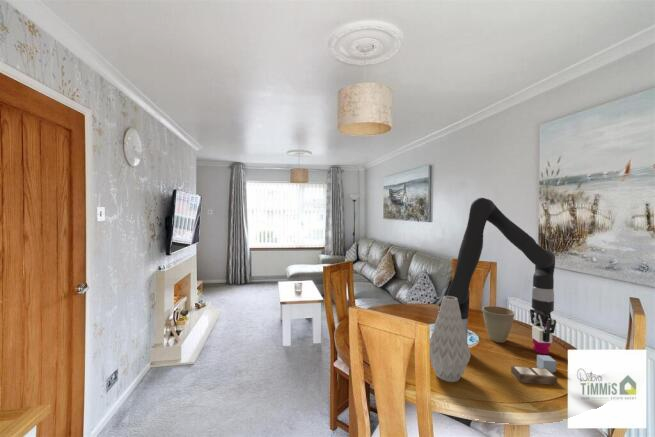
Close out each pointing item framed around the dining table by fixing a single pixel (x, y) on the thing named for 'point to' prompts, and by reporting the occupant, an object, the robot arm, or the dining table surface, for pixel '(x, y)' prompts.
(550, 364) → the cube blue
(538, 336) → the cube cream
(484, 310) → the plant pot
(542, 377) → the plank
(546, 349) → the pepper mill
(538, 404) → the dining table surface
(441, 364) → the vase
